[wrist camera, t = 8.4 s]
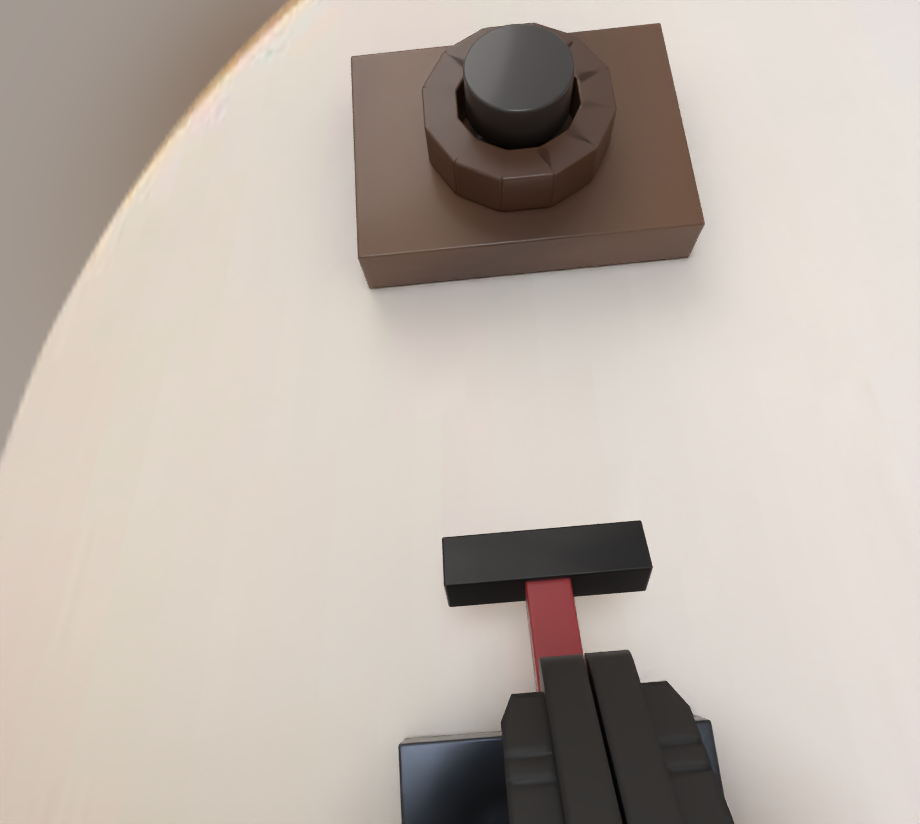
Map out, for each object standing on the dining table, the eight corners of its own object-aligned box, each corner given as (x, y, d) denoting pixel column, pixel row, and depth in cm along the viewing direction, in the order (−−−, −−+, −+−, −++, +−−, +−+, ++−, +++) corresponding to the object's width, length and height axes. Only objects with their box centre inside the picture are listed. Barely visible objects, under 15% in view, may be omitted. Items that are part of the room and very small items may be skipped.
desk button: (470, 154, 23) (467, 116, 22) (461, 70, 24) (458, 28, 23) (576, 143, 23) (582, 104, 22) (563, 59, 24) (567, 17, 23)
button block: (369, 288, 26) (346, 229, 22) (361, 97, 29) (340, 15, 25) (689, 257, 26) (721, 191, 22) (649, 67, 28) (671, -21, 25)
